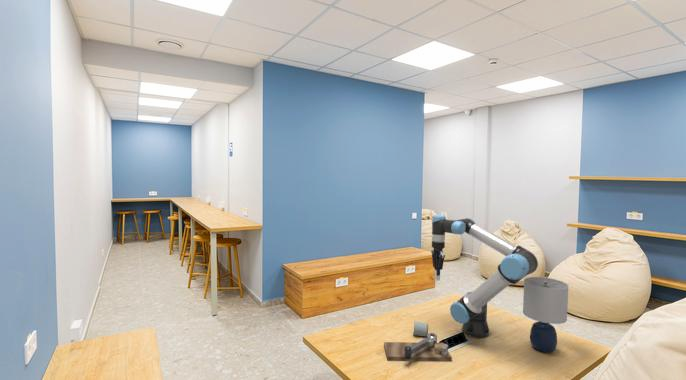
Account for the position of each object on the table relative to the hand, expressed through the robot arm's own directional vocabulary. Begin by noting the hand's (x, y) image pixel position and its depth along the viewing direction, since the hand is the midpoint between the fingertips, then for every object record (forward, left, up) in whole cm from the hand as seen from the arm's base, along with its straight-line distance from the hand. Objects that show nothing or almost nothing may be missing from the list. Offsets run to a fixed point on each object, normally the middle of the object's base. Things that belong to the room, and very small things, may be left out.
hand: (437, 280), depth 211 cm
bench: (+18, +30, -29) cm, 46 cm away
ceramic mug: (+11, +8, -30) cm, 33 cm away
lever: (+16, +33, -26) cm, 45 cm away
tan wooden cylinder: (+7, +33, -27) cm, 43 cm away
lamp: (-51, +24, -30) cm, 64 cm away
